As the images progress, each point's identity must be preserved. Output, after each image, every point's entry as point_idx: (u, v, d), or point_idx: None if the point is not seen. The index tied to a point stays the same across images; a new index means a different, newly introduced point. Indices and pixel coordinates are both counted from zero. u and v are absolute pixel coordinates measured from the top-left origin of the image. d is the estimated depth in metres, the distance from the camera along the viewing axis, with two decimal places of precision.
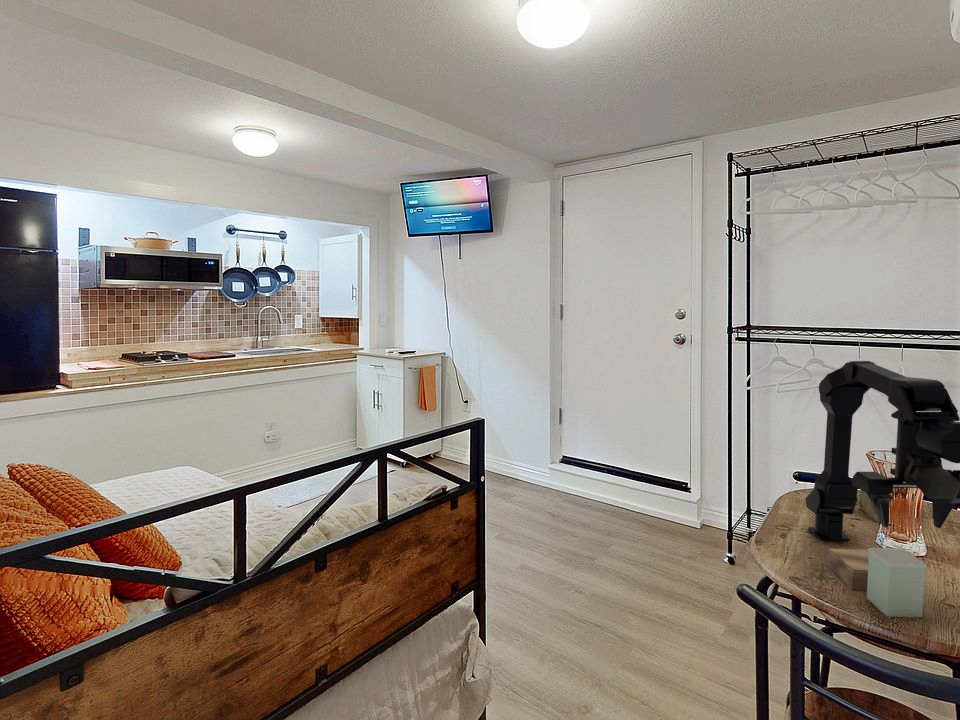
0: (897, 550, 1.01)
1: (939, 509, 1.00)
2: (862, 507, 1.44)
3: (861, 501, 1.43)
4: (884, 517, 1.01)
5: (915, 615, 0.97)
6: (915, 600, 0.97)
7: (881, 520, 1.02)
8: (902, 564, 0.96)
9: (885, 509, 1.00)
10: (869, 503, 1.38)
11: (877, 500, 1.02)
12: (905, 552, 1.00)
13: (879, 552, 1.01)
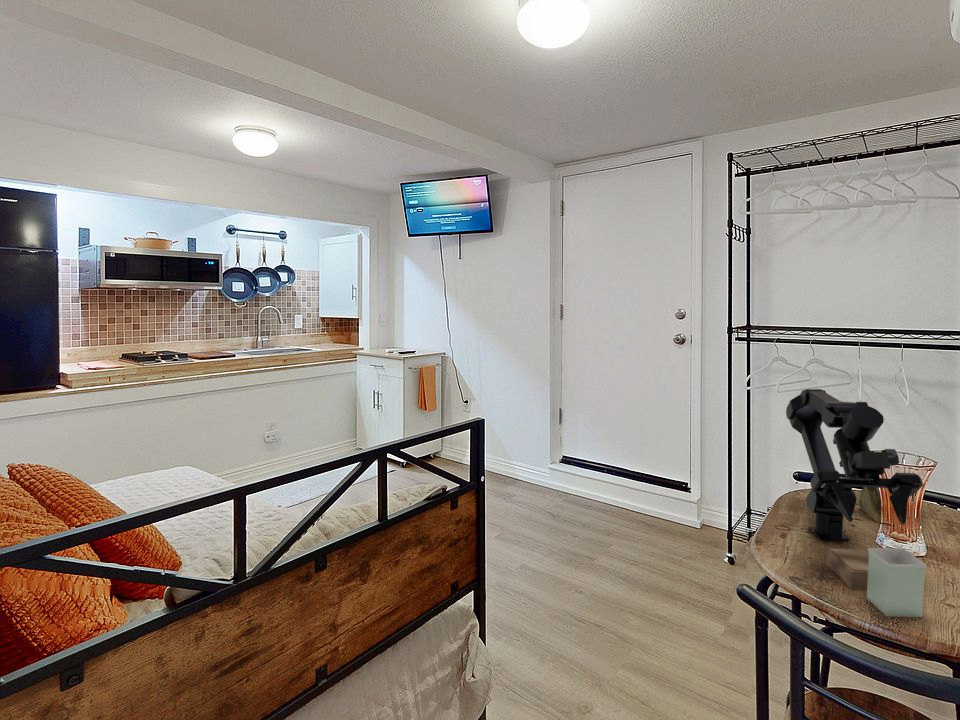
0: (897, 550, 1.01)
1: (898, 507, 1.07)
2: (862, 507, 1.44)
3: (861, 501, 1.43)
4: (845, 508, 1.08)
5: (915, 615, 0.97)
6: (915, 600, 0.97)
7: (846, 516, 1.08)
8: (902, 564, 0.96)
9: (843, 499, 1.09)
10: (869, 503, 1.38)
11: (836, 498, 1.11)
12: (905, 552, 1.00)
13: (879, 552, 1.01)
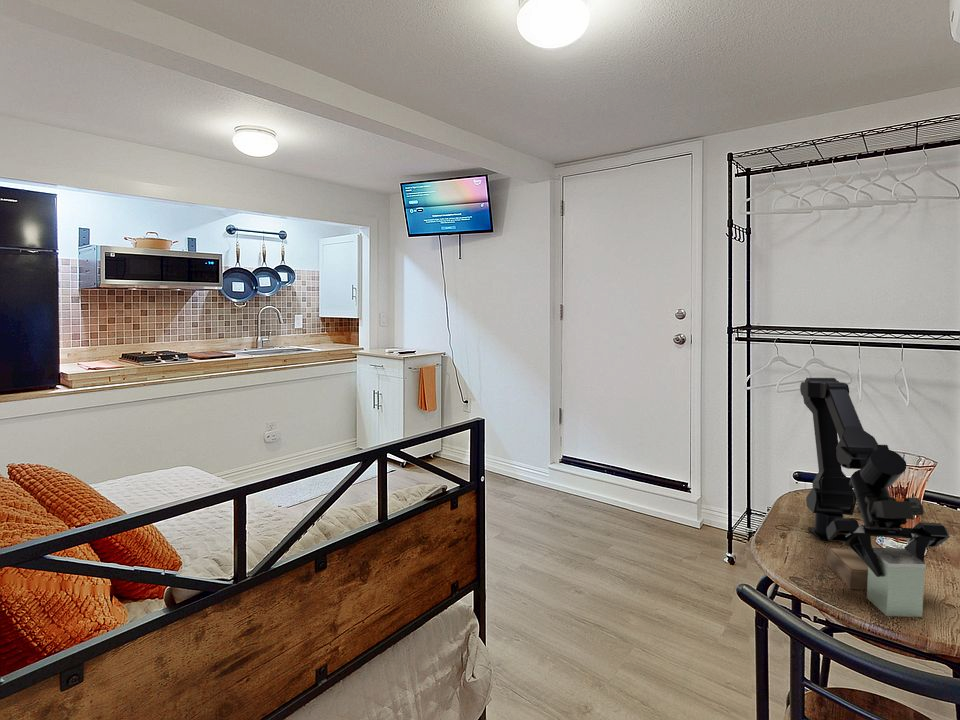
0: (897, 550, 1.01)
1: None
2: None
3: None
4: (873, 562, 1.00)
5: (915, 615, 0.97)
6: (915, 599, 0.97)
7: (873, 570, 1.00)
8: (902, 564, 0.96)
9: (870, 552, 1.01)
10: None
11: (862, 550, 1.03)
12: (904, 552, 1.00)
13: (879, 552, 1.01)
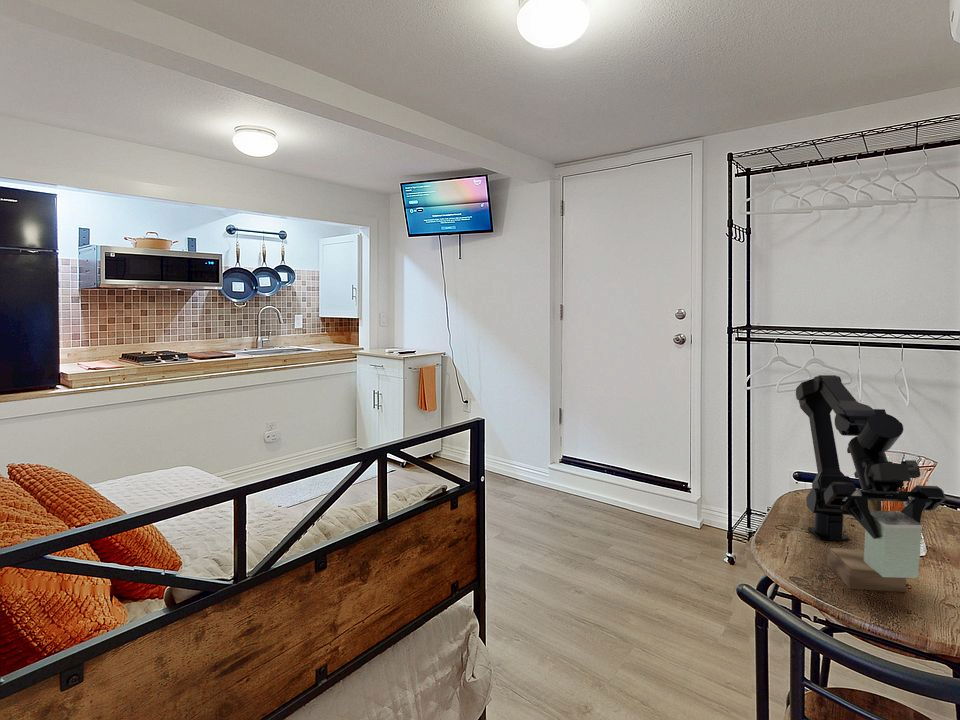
0: (894, 513, 1.02)
1: None
2: None
3: None
4: (869, 524, 1.01)
5: (911, 576, 0.98)
6: (911, 560, 0.98)
7: (870, 532, 1.01)
8: (898, 525, 0.97)
9: (867, 515, 1.01)
10: (869, 503, 1.38)
11: (859, 513, 1.03)
12: (901, 514, 1.01)
13: (875, 514, 1.01)
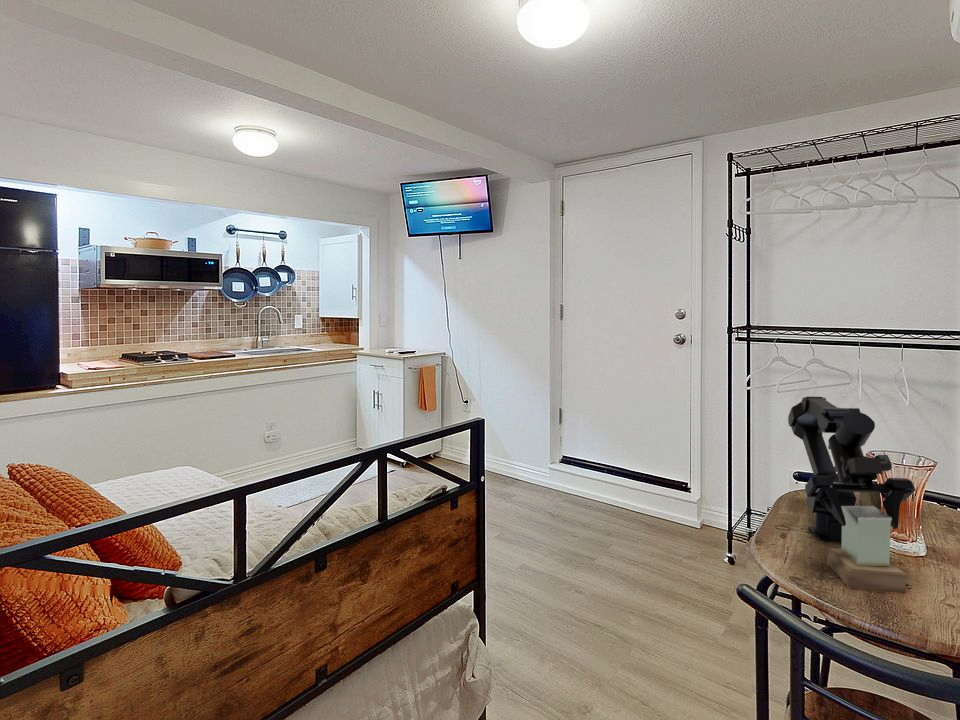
0: (867, 507, 1.12)
1: (890, 511, 1.09)
2: None
3: (861, 501, 1.43)
4: (839, 513, 1.10)
5: (883, 564, 1.08)
6: (882, 550, 1.07)
7: (839, 520, 1.10)
8: (870, 518, 1.07)
9: (836, 504, 1.11)
10: (869, 503, 1.38)
11: (830, 503, 1.13)
12: (874, 509, 1.11)
13: (850, 509, 1.11)
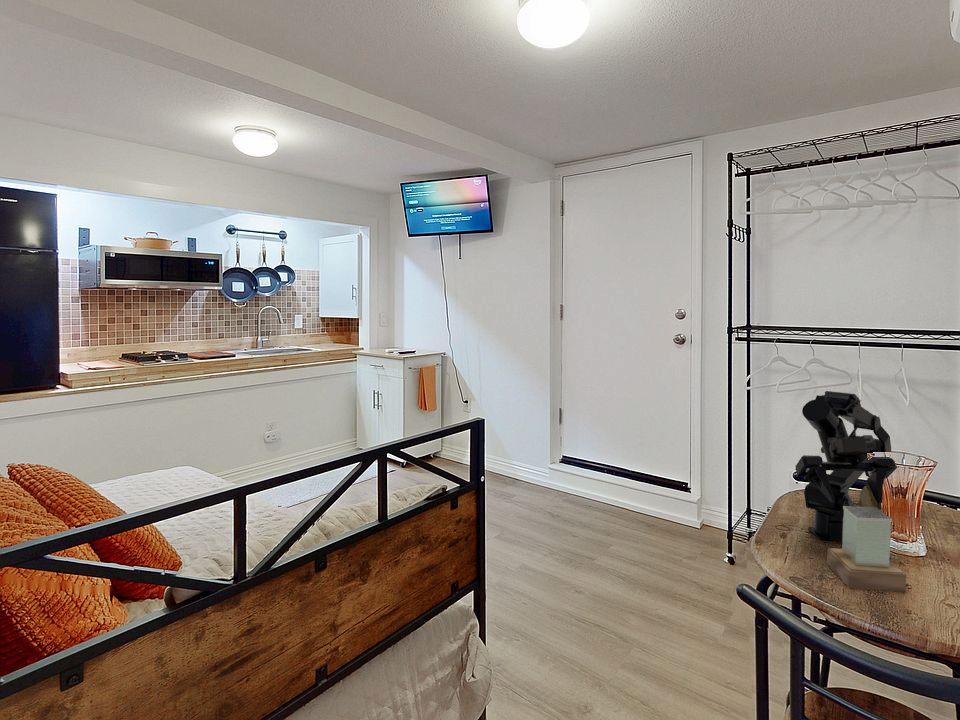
0: (870, 508, 1.11)
1: (874, 488, 1.17)
2: None
3: (861, 501, 1.43)
4: (828, 490, 1.17)
5: (882, 565, 1.07)
6: (882, 551, 1.07)
7: (828, 497, 1.18)
8: (869, 518, 1.07)
9: (825, 482, 1.18)
10: (869, 503, 1.38)
11: (819, 481, 1.20)
12: (876, 510, 1.11)
13: (851, 509, 1.11)
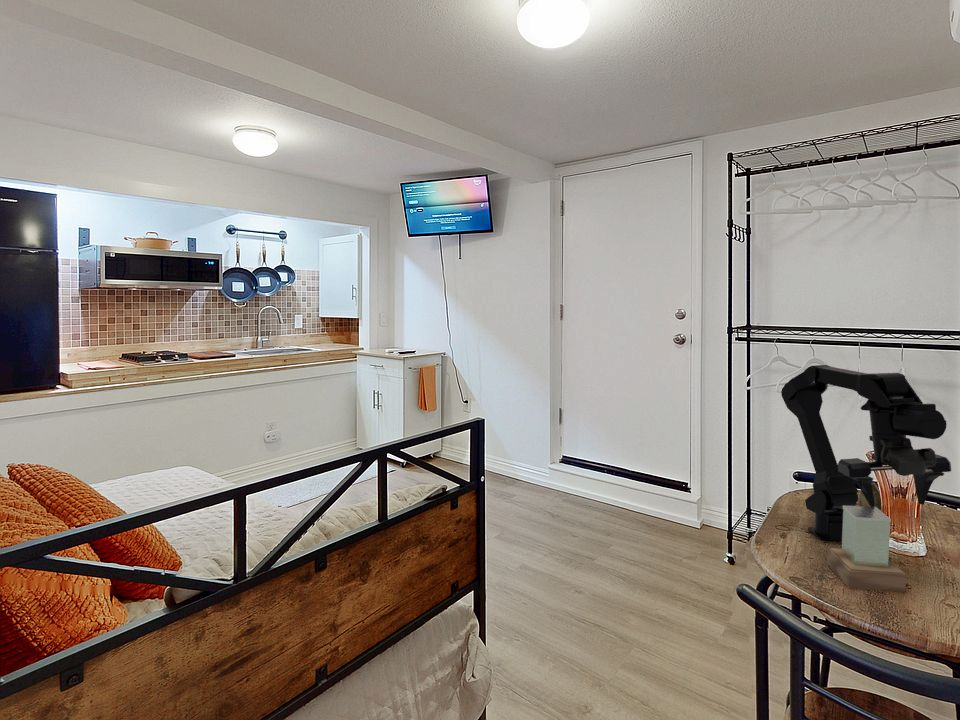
0: (869, 508, 1.12)
1: (920, 487, 1.12)
2: None
3: (861, 501, 1.43)
4: (869, 498, 1.13)
5: (881, 565, 1.08)
6: (881, 551, 1.07)
7: (868, 501, 1.14)
8: (868, 518, 1.07)
9: (869, 490, 1.13)
10: None
11: (862, 483, 1.14)
12: (876, 509, 1.11)
13: (851, 508, 1.12)
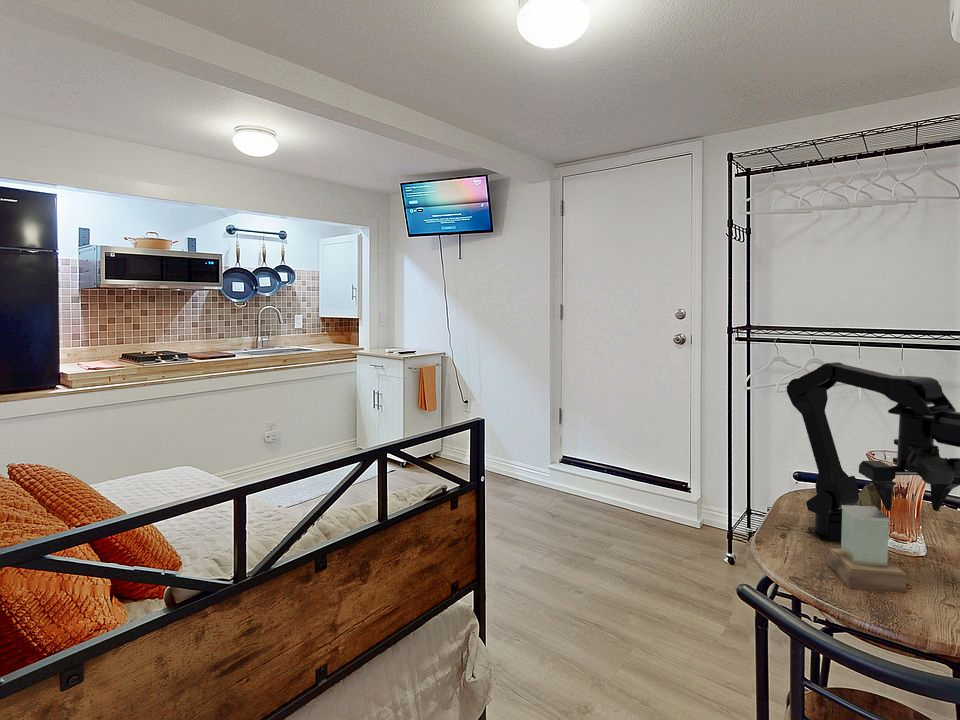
0: (868, 507, 1.12)
1: (937, 494, 1.11)
2: None
3: (861, 501, 1.43)
4: (887, 501, 1.12)
5: (880, 564, 1.08)
6: (879, 550, 1.07)
7: (885, 504, 1.13)
8: (866, 517, 1.07)
9: (888, 494, 1.11)
10: (869, 503, 1.38)
11: (881, 486, 1.13)
12: (874, 509, 1.11)
13: (849, 508, 1.12)
